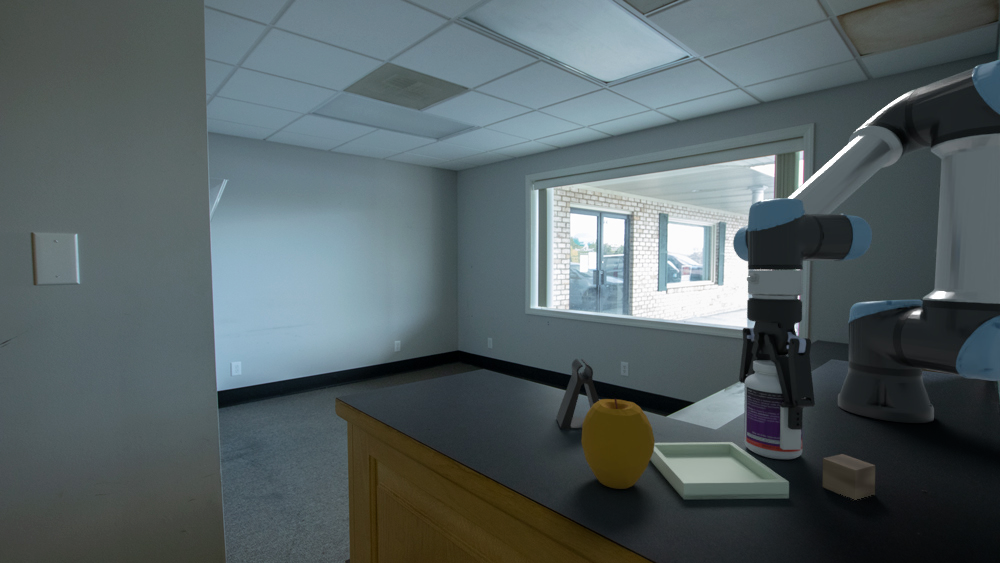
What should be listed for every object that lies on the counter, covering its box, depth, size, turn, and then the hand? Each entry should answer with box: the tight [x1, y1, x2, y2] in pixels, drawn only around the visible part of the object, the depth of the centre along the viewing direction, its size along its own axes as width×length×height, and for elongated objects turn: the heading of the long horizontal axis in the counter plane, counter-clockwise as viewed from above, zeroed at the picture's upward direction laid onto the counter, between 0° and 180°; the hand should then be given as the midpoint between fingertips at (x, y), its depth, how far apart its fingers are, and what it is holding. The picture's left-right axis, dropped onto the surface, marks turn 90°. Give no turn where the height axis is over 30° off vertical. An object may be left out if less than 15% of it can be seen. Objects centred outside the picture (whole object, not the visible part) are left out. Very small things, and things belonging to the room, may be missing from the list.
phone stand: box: [556, 358, 600, 430], centre depth 86 cm, size 9×6×12 cm, turn 90°
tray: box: [650, 441, 790, 500], centre depth 65 cm, size 14×14×2 cm
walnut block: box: [822, 453, 876, 501], centre depth 60 cm, size 4×4×4 cm
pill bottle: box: [743, 360, 803, 460], centre depth 73 cm, size 8×8×14 cm
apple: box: [581, 397, 656, 490], centre depth 62 cm, size 10×10×12 cm
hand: (772, 437), depth 73 cm, fingers closed on pill bottle, 8 cm apart
